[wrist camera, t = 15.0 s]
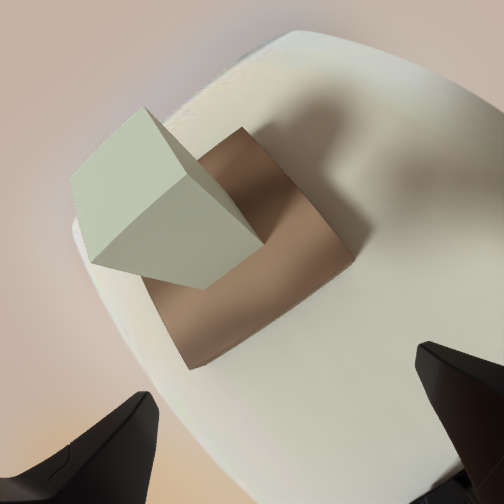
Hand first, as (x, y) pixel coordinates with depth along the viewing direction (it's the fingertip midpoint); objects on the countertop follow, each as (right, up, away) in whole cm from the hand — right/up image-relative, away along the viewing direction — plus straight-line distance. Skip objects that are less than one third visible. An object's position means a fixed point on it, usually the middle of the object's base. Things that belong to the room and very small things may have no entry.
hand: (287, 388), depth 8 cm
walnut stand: (-3, +4, +14) cm, 15 cm away
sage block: (-4, +5, +11) cm, 13 cm away
